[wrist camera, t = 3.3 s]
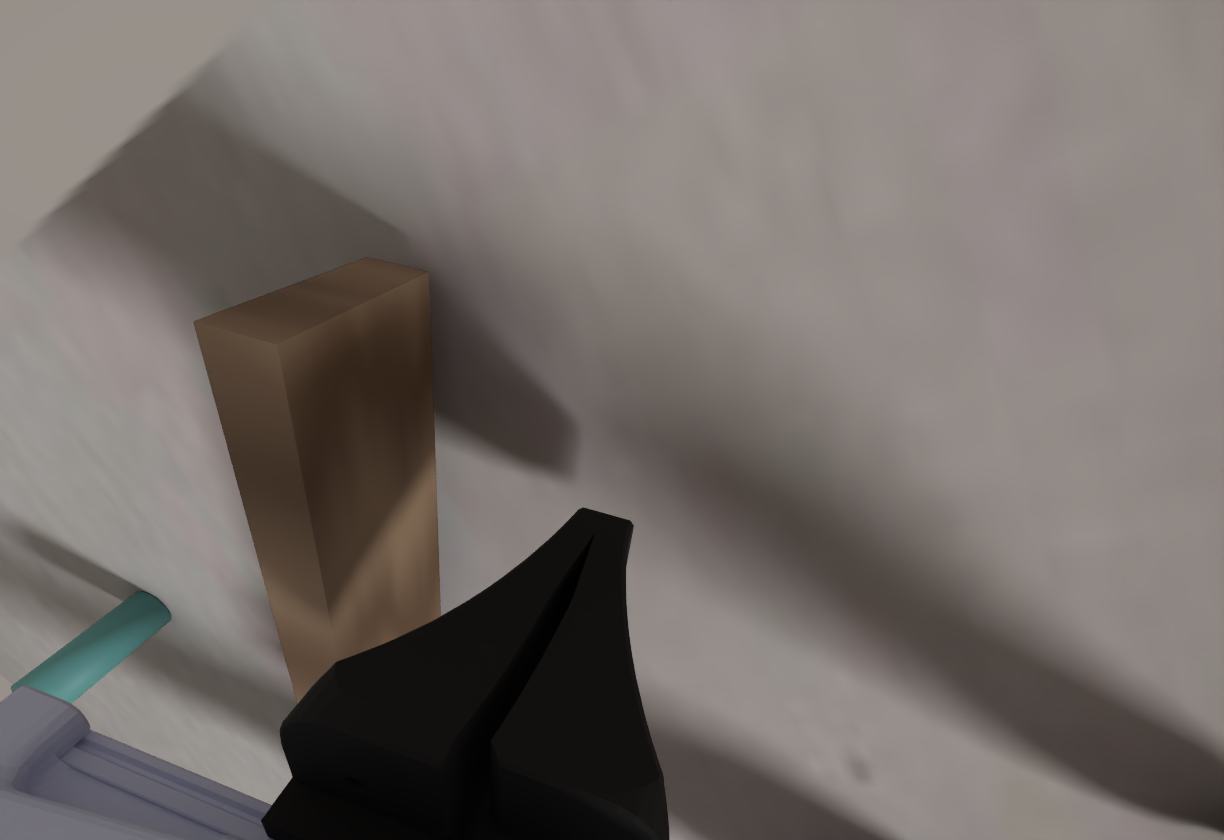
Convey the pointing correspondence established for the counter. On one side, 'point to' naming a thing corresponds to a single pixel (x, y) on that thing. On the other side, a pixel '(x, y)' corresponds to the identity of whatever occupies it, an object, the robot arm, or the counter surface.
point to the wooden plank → (334, 455)
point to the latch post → (98, 648)
